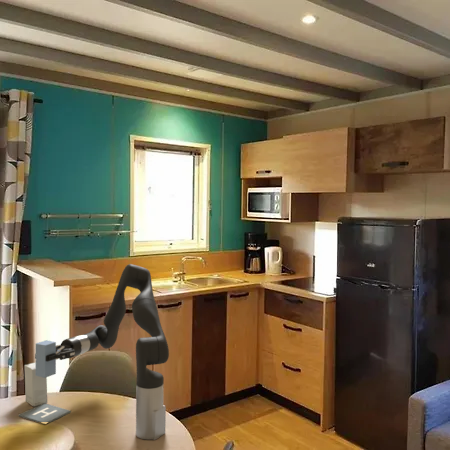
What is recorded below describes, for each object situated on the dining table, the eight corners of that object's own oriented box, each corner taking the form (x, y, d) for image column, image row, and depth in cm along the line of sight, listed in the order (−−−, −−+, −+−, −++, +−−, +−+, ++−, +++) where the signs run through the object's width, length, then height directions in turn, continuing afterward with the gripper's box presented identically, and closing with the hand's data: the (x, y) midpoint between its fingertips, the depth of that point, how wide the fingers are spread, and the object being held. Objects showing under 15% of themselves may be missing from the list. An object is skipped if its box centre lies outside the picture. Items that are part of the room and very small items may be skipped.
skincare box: (47, 403, 187) (47, 366, 186) (32, 407, 183) (32, 369, 182) (39, 397, 193) (39, 360, 192) (23, 401, 189) (24, 364, 188)
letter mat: (70, 412, 179) (70, 410, 179) (45, 424, 168) (45, 422, 168) (44, 404, 186) (44, 403, 185) (18, 416, 175) (18, 414, 175)
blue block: (55, 373, 178) (55, 342, 177) (45, 377, 173) (45, 345, 173) (46, 371, 180) (46, 340, 180) (35, 375, 176) (35, 343, 175)
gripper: (62, 334, 193) (27, 344, 178) (89, 339, 186) (54, 350, 171) (62, 352, 193) (27, 364, 178) (88, 358, 186) (54, 371, 171)
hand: (41, 357), depth 175 cm, fingers closed on blue block, 5 cm apart
